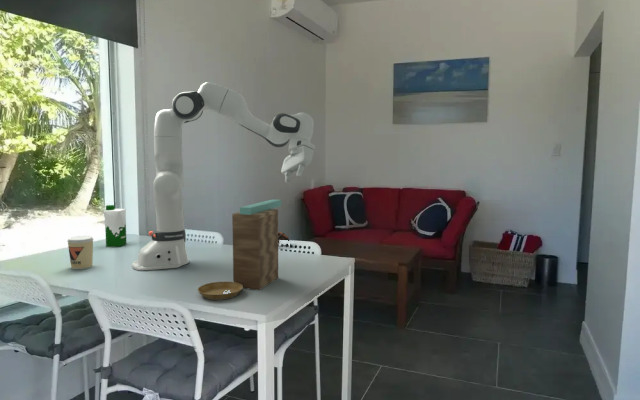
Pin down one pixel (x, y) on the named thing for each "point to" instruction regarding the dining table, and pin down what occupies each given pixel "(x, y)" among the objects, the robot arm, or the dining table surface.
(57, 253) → the dining table surface
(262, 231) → the shelf block
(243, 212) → the board
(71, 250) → the coffee cup
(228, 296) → the plant saucer
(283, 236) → the pottery mug
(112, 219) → the milk carton
